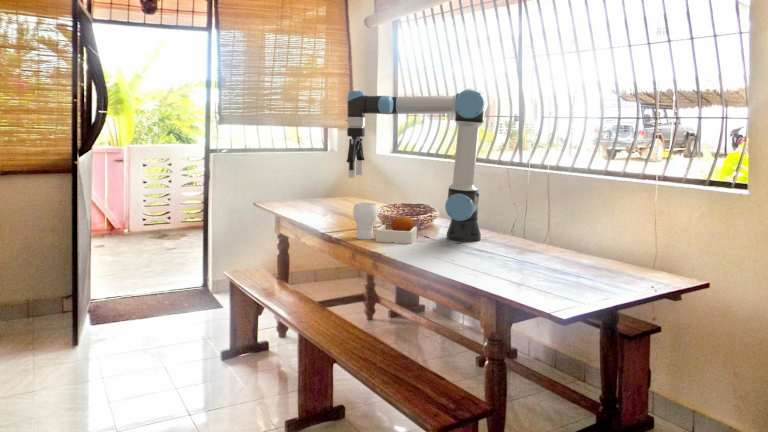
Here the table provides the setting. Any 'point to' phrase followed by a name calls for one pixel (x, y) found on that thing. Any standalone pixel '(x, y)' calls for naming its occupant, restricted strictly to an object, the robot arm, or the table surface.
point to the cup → (365, 219)
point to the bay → (396, 234)
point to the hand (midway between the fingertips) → (355, 176)
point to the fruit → (402, 223)
